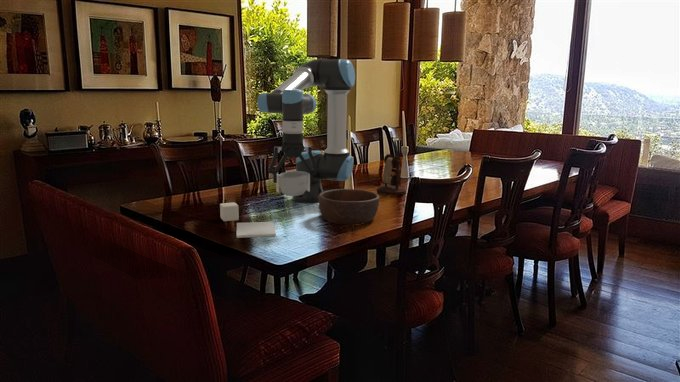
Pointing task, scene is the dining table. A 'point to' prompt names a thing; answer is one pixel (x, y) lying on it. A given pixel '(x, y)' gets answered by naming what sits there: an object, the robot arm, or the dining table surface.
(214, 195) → the dining table surface
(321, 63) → the robot arm
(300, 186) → the teacup
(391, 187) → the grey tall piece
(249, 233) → the mat
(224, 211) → the cream block
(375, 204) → the wooden bowl
